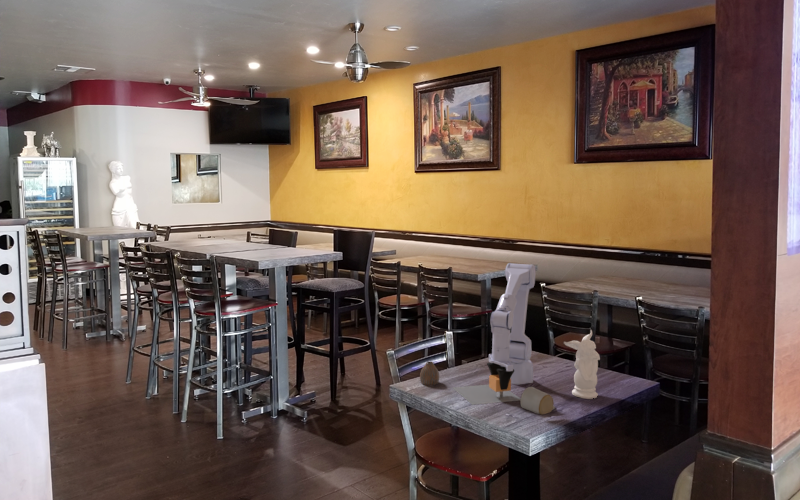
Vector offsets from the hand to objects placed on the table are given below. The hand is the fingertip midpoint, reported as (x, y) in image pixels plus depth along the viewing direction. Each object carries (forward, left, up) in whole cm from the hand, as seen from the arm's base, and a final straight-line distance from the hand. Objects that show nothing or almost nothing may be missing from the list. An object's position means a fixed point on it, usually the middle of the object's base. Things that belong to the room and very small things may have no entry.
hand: (499, 386), depth 207 cm
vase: (+18, -20, -5) cm, 27 cm away
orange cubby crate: (0, 0, -1) cm, 1 cm away
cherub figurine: (-30, +1, -5) cm, 30 cm away
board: (+3, -4, -5) cm, 7 cm away
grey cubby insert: (0, 0, -4) cm, 4 cm away
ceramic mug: (-8, +13, -5) cm, 16 cm away
